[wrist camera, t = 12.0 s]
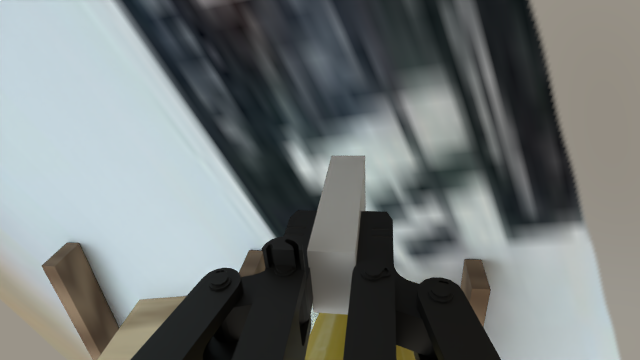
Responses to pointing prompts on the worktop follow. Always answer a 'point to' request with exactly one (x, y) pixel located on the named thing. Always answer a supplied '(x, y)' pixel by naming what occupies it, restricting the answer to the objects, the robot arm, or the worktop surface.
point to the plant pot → (336, 339)
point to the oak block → (139, 327)
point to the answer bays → (100, 326)
